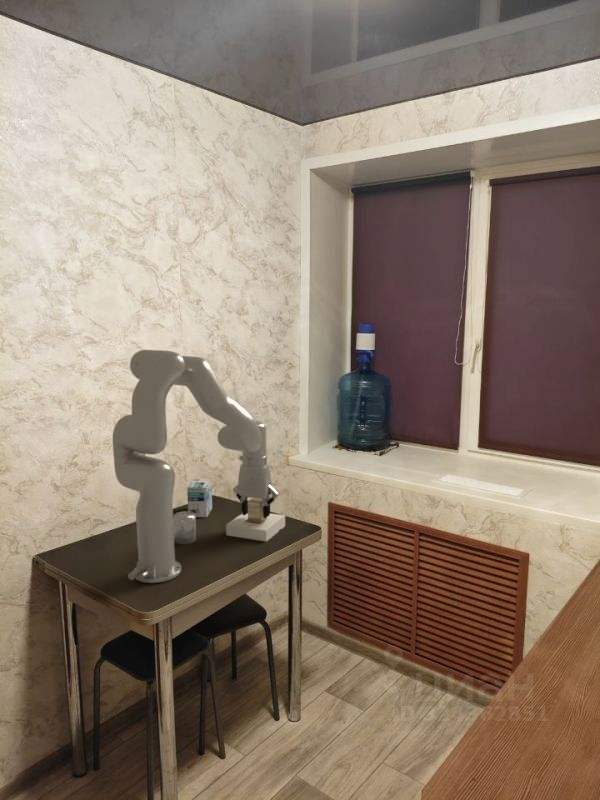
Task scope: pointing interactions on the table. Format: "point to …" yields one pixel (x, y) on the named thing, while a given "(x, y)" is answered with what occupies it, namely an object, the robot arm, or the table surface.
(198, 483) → the light bulb box
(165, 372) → the robot arm
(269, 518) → the socket block
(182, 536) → the clear glass cup
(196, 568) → the table surface
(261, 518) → the square peg
